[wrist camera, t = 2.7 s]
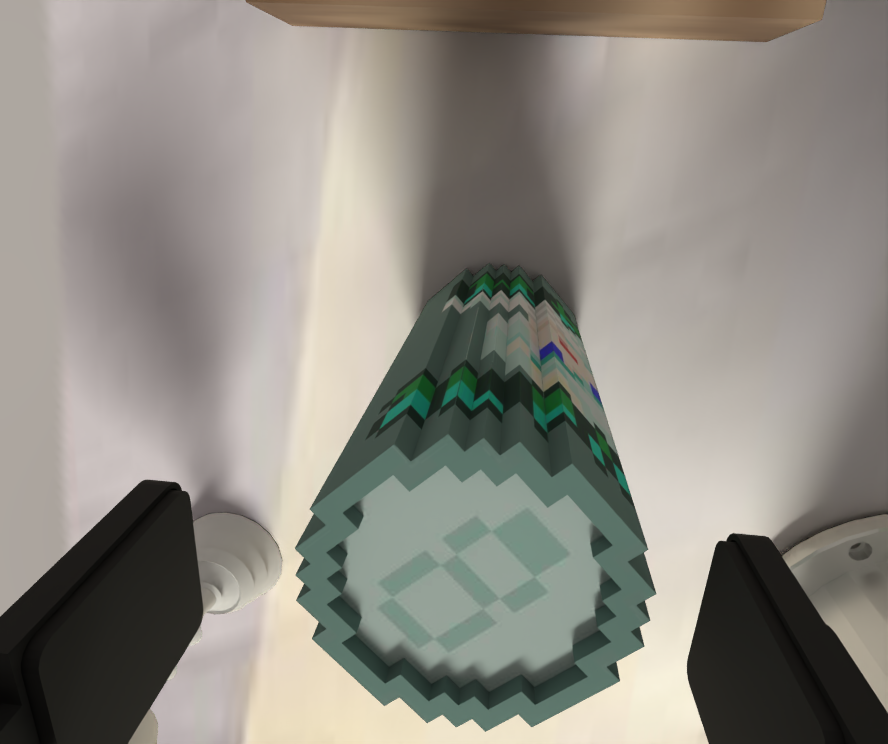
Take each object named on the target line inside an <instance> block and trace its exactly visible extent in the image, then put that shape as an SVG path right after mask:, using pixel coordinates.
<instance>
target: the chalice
mask: <svg viewBox="0 0 888 744" xmlns="http://www.w3.org/2000/svg"><path fill="white" fill-rule="evenodd" d="M193 527H194V535H195V543H196V551H197V559H198V568H199V576H200V584H201V592H202V600H203V616H204V614H205V613H211V614H226V613H231V612H234V611H237V610H240V609H242V608H243V607H244V606H246V605H247V604H248V603H250V602H253V601H254V600H255V599H256V598H258V597H259V596H260V595H263V594H265V593H267V592H268V591H269V590H270V589H271V588H272V587H274V586H275V585H276V583H277V581H278V579H279V577H280V575H281V570H282V558H281V555H280V551H279V548H278V546H277V544H276V543H275V541H274V540H273V538H272V537H271V535H270V534H269V533H268V532H267V531H266V530H264V529H263V528H262V527H261V526H260V525H259V524H257V523H256V522H254V521H252V520H249V519H247V518H245V517H243V516H241V515H236V514H231V513H226V512H224V513H212V514H208V515H205V516H203V517H201V518H198V519H196V520H195V521H194V522H193ZM202 618H203V617H202ZM201 637H202V630H201V627H199V629H198V631H197V633H196V634H195V636H194V637H193V639H192V641H191V642H190V644H189V646H192V645H195V644H197V643H198V642H199V641H200V639H201ZM176 673H177V665H176V667H175V668H174V670H173V671H172V673H171V675H170V676H169V678H168V680H171V679H172V678H173V677H174V676H175V675H176ZM168 680H167V681H168ZM157 734H158V722H157V720H156V717H155V715H154V713H153V712H152V711H151V710H150V709H149V710H148V712H147V714H146V715H145V717H144V718H143V720H142V722H141V723H140V725H139V726H138V728H137V730H136V731H135V733H134V735H133V736H132V738H131V739H130V741H129V743H128V744H157Z"/></svg>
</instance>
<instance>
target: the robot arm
mask: <svg viewBox="0 0 888 744" xmlns="http://www.w3.org/2000/svg"><path fill="white" fill-rule="evenodd" d="M202 617H203V600H202V592H201V584H200V576H199V568H198V559H197V551H196V543H195V535H194V527H193V518H192V510H191V502H190V497H189V494H188V493H187V492H186V491H182V490H181V487H180V485H179V484H178V483H176V482H167V481H156V480H143V481H142V482H140V483H139V484H138V485H137V486H136V487H135V488H134V489H133V490H132V491H131V492H130V493H129V494H128V495H127V496H126V497H125V498H123V499H122V500H121V501H120V502H119V503H118V504H117V505H116V506H115V507H114V508H113V509H112V510H111V511H110V512H109V513H108V514H107V515H106V516H105V517H104V518H103V519H102V520H101V521H100V522H98V523H97V524H96V525H95V526H94V527H93V528H92V529H91V530H90V531H89V532H88V533H87V534H86V535H85V536H84V537H83V538H82V539H81V540H80V541H79V542H78V543H77V544H76V545H74V546H73V547H72V548H71V549H70V550H69V551H68V552H67V553H66V554H65V555H64V556H63V557H62V558H61V559H60V560H59V561H58V562H57V563H56V564H55V565H54V566H53V567H52V568H51V569H50V570H49V571H47V572H46V573H45V574H44V575H43V576H42V577H41V578H40V579H39V580H38V581H37V582H36V583H35V584H34V585H33V586H32V587H31V588H30V589H29V590H28V591H27V592H26V593H24V595H22V596H21V597H20V598H19V599H18V600H17V601H16V602H15V603H14V604H13V605H12V606H11V607H10V608H9V609H8V610H7V611H6V612H5V613H4V614H3V615H2V616H1V617H0V744H128V743H129V741H130V739H131V738H132V736H133V735H134V733H135V731H136V730H137V728H138V726H139V725H140V723H141V722H142V720H143V718H144V717H145V715H146V714H147V712H148V710H149V709H150V707H151V705H152V704H153V702H154V701H155V699H156V697H157V696H158V694H159V692H160V691H161V689H162V688H163V686H164V684H165V683H166V681H167V680H168V678H169V676H170V675H171V673H172V671H173V670H174V668H175V667H176V665H177V663H178V662H179V660H180V658H181V657H182V655H183V654H184V652H185V650H186V649H187V647H188V646H189V644H190V642H191V641H192V639H193V637H194V636H195V634H196V633H197V631H198V629H199V627H200V624H201V622H202ZM687 675H688V681H689V685H690V688H691V691H692V694H693V697H694V700H695V703H696V706H697V709H698V712H699V715H700V718H701V721H702V724H703V727H704V730H705V733H706V736H707V739H708V742H709V744H888V514H883V515H878V516H873V517H868V518H863V519H858V520H853V521H850V522H847V523H844V524H841V525H839V526H836V527H833V528H830V529H828V530H825V531H822V532H820V533H818V534H816V535H814V536H813V537H811V538H809V539H807V540H805V541H803V542H802V543H800V544H798V545H796V546H794V547H793V548H792V549H791V550H789V551H788V552H787V553H785V554H784V555H783V556H781V554H780V553H779V551H778V550H777V548H776V547H775V545H774V543H773V542H772V541H771V540H770V538H769V537H766V536H757V535H746V534H735V533H733V534H730V535H729V537H728V538H727V541H719V542H718V543H717V545H716V547H715V551H714V555H713V559H712V563H711V567H710V571H709V575H708V579H707V583H706V587H705V591H704V595H703V599H702V603H701V607H700V612H699V616H698V620H697V624H696V628H695V632H694V636H693V640H692V644H691V648H690V652H689V656H688V661H687Z"/></svg>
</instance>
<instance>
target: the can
mask: <svg viewBox="0 0 888 744" xmlns="http://www.w3.org/2000/svg"><path fill="white" fill-rule="evenodd" d="M310 510H311V511H312V512H313V513H314V515H313V516H312V518H311V520H310V522H309V524H308V525H307V527H306V529H305V531H304V533H303V535H302V536H301V538H300V540H299V542H298V544H297V545H296V547H295V549H296V550H297V551H298V552H299V553H300V554H301V555H302V556H303V557H304V559H303V561H302V563H301V565H300V567H299V569H298V571H297V573H296V576H297V577H298V578H299V579H300V580H301V581H302V582H303V583H304V585H303V587H302V589H301V591H300V594H299V596H298V598H297V600H296V601H297V602H298V603H299V604H300V605H302V606H303V607H304V608H305V609H306V610H307V611H308V612H309V613H310V614H311V615H312V616H313V617H314V618H315V619H316V620H318V621H319V623H318V625H317V628H316V630H315V633H314V635H313V637H312V639H313V640H314V641H315V642H316V643H317V644H318V645H319V646H320V647H321V648H322V649H323V650H324V651H325V652H327V653H328V654H329V655H330V656H331V657H332V658H333V659H334V660H335V661H336V662H337V663H338V664H340V665H341V666H342V667H343V668H344V669H345V670H346V671H347V672H348V673H349V674H350V675H351V676H352V677H354V678H355V679H356V680H357V681H358V682H359V683H360V684H361V685H362V686H363V687H364V688H365V689H367V690H368V691H369V692H370V693H371V694H372V695H373V696H374V697H375V698H376V699H377V700H378V701H379V702H381V703H382V704H383V705H384V706H385V705H387V704H389V703H390V702H392V701H394V700H395V699H397V698H399V697H400V698H401V699H402V700H403V701H404V702H405V703H406V704H407V705H408V706H409V707H410V708H412V709H413V710H414V711H415V712H416V713H417V714H418V715H419V716H420V717H421V718H422V719H423V720H424V721H425V722H426V723H428V722H430V721H432V720H434V719H435V718H437V717H439V716H441V715H444V716H445V717H446V718H447V719H448V720H449V721H450V722H451V723H452V724H453V725H454V726H455V727H458V726H460V725H462V724H463V723H465V722H467V721H469V720H471V719H473V720H474V721H475V722H476V723H477V724H478V725H479V726H480V727H481V728H482V729H483V730H484V731H485V732H486V731H488V730H490V729H492V728H493V727H495V726H497V725H499V724H501V723H503V722H505V721H506V720H508V719H510V718H512V717H514V716H516V715H518V714H519V715H520V716H521V717H522V718H523V719H524V720H525V721H526V722H527V723H528V724H529V725H530V726H531V727H533V726H535V725H537V724H539V723H541V722H543V721H545V720H547V719H549V718H551V717H552V716H554V715H556V714H558V713H560V712H562V711H564V710H566V709H568V708H570V707H572V706H573V705H575V704H577V703H579V702H581V701H583V700H585V699H587V698H589V697H591V696H593V695H594V694H596V693H598V692H600V691H602V690H604V689H606V688H608V687H610V686H612V685H614V684H615V683H617V682H619V681H620V679H619V674H618V668H617V663H616V661H618V660H620V659H622V658H624V657H626V656H628V655H629V654H631V653H633V652H635V651H637V650H639V649H641V648H642V647H644V643H643V639H642V635H641V631H640V626H642V625H643V624H645V623H647V622H649V621H650V618H649V614H648V611H647V607H646V603H645V600H646V599H648V598H650V597H652V596H654V595H655V594H656V591H655V588H654V585H653V581H652V578H651V575H650V571H649V568H648V565H647V562H646V558H645V555H644V552H645V551H647V550H648V548H647V544H646V541H645V538H644V535H643V532H642V529H641V525H640V522H639V519H638V516H637V513H636V510H635V506H634V503H633V500H632V497H631V494H630V491H629V488H628V484H627V481H626V478H625V475H624V472H623V469H622V465H621V462H620V459H619V456H618V453H617V450H616V446H615V443H614V440H613V437H612V434H611V431H610V428H609V424H608V421H607V418H606V415H605V412H604V409H603V405H602V402H601V399H600V396H599V393H598V390H597V387H596V383H595V380H594V377H593V374H592V371H591V368H590V364H589V361H588V358H587V355H586V352H585V349H584V345H583V342H582V339H581V336H580V333H579V330H578V327H577V323H576V320H575V317H574V314H573V313H572V312H571V310H570V309H569V308H568V307H567V305H566V304H565V303H564V302H563V301H562V299H561V298H560V297H559V296H558V295H557V293H556V292H555V291H554V290H553V289H552V287H551V286H550V285H549V284H548V282H547V281H546V280H545V279H544V278H543V276H542V275H540V276H538V277H537V278H536V279H535V280H534V281H532V280H531V279H530V278H529V276H528V275H527V274H526V273H525V272H524V270H523V269H522V268H521V267H520V266H518V267H517V268H515V269H514V270H513V271H512V272H511V271H510V270H509V269H508V268H507V267H506V265H505V264H504V265H502V266H501V267H500V268H499V269H498V270H495V269H494V268H493V266H492V265H491V264H490V263H489V264H487V265H486V266H485V267H484V268H483V269H481V270H480V271H479V272H478V273H477V274H475V275H474V276H473V275H472V274H471V273H470V272H469V270H468V269H467V268H466V269H465V270H464V271H463V272H462V273H460V274H459V275H458V276H457V277H456V278H455V279H453V280H452V281H451V282H450V283H449V284H447V285H446V286H445V287H444V288H443V289H442V290H440V291H439V292H438V293H437V294H436V295H435V296H433V297H432V298H431V299H430V300H429V301H428V302H427V304H426V306H425V307H424V309H423V311H422V313H421V314H420V316H419V318H418V320H417V321H416V323H415V325H414V327H413V328H412V330H411V332H410V334H409V335H408V337H407V339H406V341H405V342H404V344H403V346H402V348H401V350H400V351H399V353H398V355H397V357H396V358H395V360H394V362H393V364H392V365H391V367H390V369H389V371H388V372H387V374H386V376H385V378H384V379H383V381H382V383H381V385H380V386H379V388H378V390H377V392H376V393H375V395H374V397H373V399H372V401H371V402H370V404H369V406H368V408H367V409H366V411H365V413H364V415H363V416H362V418H361V420H360V422H359V423H358V425H357V427H356V429H355V430H354V432H353V434H352V436H351V437H350V439H349V441H348V443H347V445H346V446H345V448H344V450H343V452H342V453H341V455H340V457H339V459H338V460H337V462H336V464H335V466H334V467H333V469H332V471H331V473H330V474H329V476H328V478H327V480H326V481H325V483H324V485H323V487H322V489H321V490H320V492H319V494H318V496H317V497H316V499H315V501H314V503H313V504H312V506H311V508H310Z"/></svg>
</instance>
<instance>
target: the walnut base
mask: <svg viewBox="0 0 888 744" xmlns="http://www.w3.org/2000/svg"><path fill="white" fill-rule="evenodd" d="M246 2H247V3H249V4H251V5H253V6H255V7H257V8H259V9H261V10H263V11H265V12H266V13H268V14H270V15H272V16H274V17H276V18H278V19H280V20H282V21H284V22H286V23H288V24H290V25H292V26H314V27H343V28H372V29H401V30H431V31H460V32H489V33H518V34H547V35H577V36H606V37H635V38H664V39H694V40H723V41H752V42H768V41H770V40H773V39H775V38H778V37H780V36H783V35H785V34H788V33H790V32H793V31H795V30H798V29H800V28H803V27H805V26H808V25H810V24H813V23H815V22H818V21H820V20H822V17H823V13H824V9H825V4H826V0H246Z"/></svg>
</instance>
